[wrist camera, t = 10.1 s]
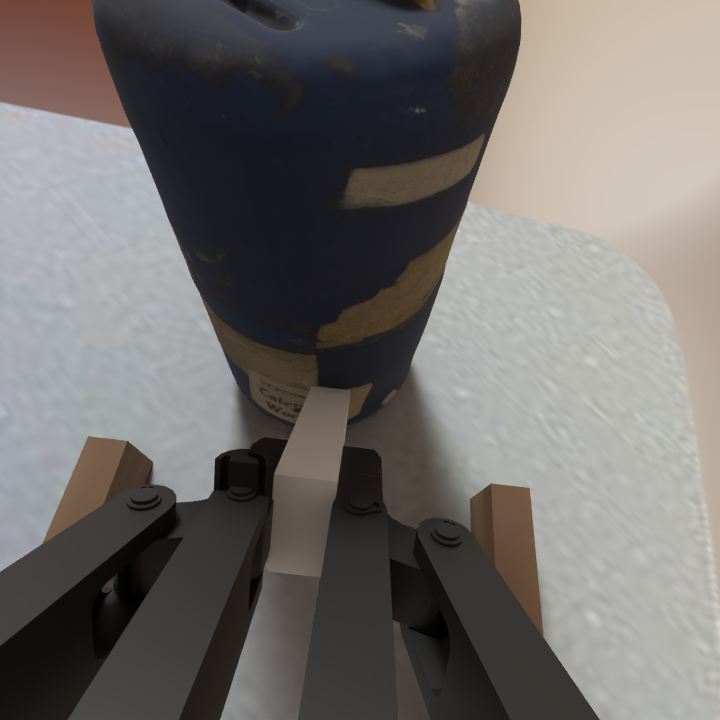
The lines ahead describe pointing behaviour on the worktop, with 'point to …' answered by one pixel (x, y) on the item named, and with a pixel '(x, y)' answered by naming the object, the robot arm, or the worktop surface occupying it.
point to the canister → (313, 169)
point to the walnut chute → (488, 508)
